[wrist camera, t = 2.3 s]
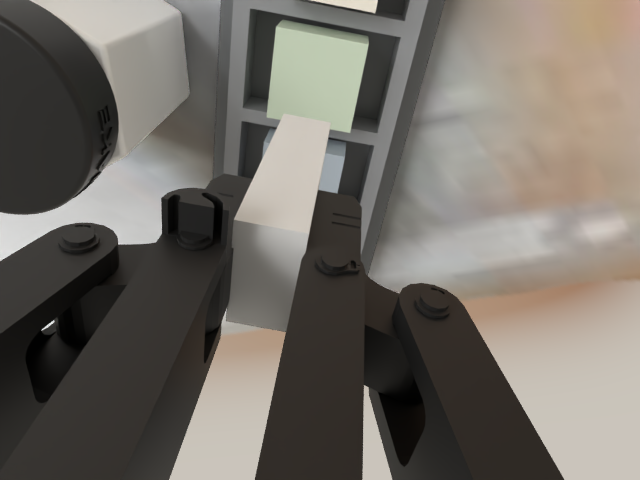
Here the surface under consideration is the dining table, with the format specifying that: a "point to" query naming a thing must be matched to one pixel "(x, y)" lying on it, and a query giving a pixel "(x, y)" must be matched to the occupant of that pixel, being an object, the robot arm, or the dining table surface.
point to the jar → (81, 91)
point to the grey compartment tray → (372, 103)
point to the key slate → (330, 165)
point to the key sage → (316, 73)
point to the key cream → (353, 4)
